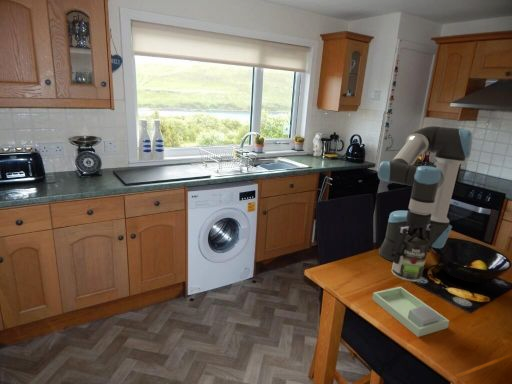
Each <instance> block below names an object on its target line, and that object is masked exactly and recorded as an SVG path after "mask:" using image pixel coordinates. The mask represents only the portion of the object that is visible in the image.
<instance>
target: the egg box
mask: <svg viewBox="0 0 512 384" xmlns="http://www.w3.org/2000/svg"><path fill="white" fill-rule="evenodd" d="M429 307H430V306H429ZM429 307H427V306H423V307H419V308H415V309H412V310H409V314H408V319H409V320H411V321H412V322H413V323H414V324H416V325H417V326H418V327H419V328H420V327H423V326H426V325H430V324H433V323H437V322H439V320H440V315H438V314H437V313H436V312H437V311H436V312H434V311H433V310H434V309H433V310H431V309H430V308H429Z"/></svg>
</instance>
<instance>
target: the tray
mask: <svg viewBox="0 0 512 384" xmlns="http://www.w3.org/2000/svg"><path fill="white" fill-rule="evenodd" d="M371 300H372V301H373V302H375V303H376V304H377V305H378V306H380V307H381V308H382V309H383V310H384V311H385V312H387V313H388V314H389V315H391V317H393V318H394V319H395V320H396V321H398V322H399V323H400V324H401V325H402V326H404V327H405V328H406V329H408V330H409V332H411V333H412V334H413V335H415V336H416V338H419V337H423V336H425V335H426V336H427V335H429V334H432V333H435V332H439V331H442V330H445V329H448V327H449V323H450V320H449V319H448V318H446V317H445V316H444V315H442V314H441V313H439V312H438V311H436V310H435V309H433V308H432V307H431V306H430V305H427V304H426V303H425V302H423V301H422V300H421V299H419V298H418V297H416V296H415V295H413V294H412V293H410V292H409V291H408V290H406V289H405V288H403V286H397V287H391V288H387V289H384V290H379V291H374V292H373V293H372V298H371ZM423 306H427V307H429V308H430V309H431V310H433V311H434V312H436V313H437V314H438V315H440V320H439V322H437V323H433V324H430V325H426V326H423V327H420V328H419V327H418V326H417V325H416V324H414V323H413V322H412V321H411V320H409V319H408V314H409V310H412V309H415V308H419V307H423Z"/></svg>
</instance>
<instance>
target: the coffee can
mask: <svg viewBox="0 0 512 384" xmlns="http://www.w3.org/2000/svg"><path fill="white" fill-rule="evenodd" d="M408 236H409V235H408ZM410 237H411V236H410ZM403 244H406V246H405V251H404V252H403V254H402V256H403V260H402V265H401V270H400V273H398V272H396V271H395V270H393V265H394V262H393V261H392V268H391V273H392V274H393V275H394V276H395V277H397V278H398V279H400V280H403V281H405V282H406V281H407V282H419V281H421V280H422V276H423V272H424V267H425V264H426V259H427V255H428V252H427V251H428V250H429V249H428V247H429V245H430V242H429V240H427V239H426V238H425V240H422V239H420V238H418V237H415V238H414V239H413V240H411V241H410V242H407V241H405V240H404V242H403ZM399 252H400V251H399Z"/></svg>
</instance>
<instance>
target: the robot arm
mask: <svg viewBox="0 0 512 384" xmlns="http://www.w3.org/2000/svg"><path fill="white" fill-rule="evenodd" d="M472 142H473V133H472V131H470V130H469V129H464V128H457V127H456V128H455V127H446V126H445V127H444V126H435V125H433V126H432V125H431V126H426V127H422V128H419V129H417V130H415V131H413V132H412V133H410V134H409V136H407V138H406V139H405V142H404V143H405V144H404V145H403V147H402V148H401V149H400V150H399V152H398V153H397V154H396V155H395V157H393V158H392V160H391V161H389V160H382V161H381V162H380V164H379V166H378V170H377V177H378V179H379V180H380V181H384V182H388V183H395V184H398V185H399V184H400V185H404V186H409V187H412V188H411V193H410V200H409V204H408V210H395V211H392V212H390V213H389V215H388V216H389V218H388V221H387V226H386V232H385V237H384V240H383V241H382V243H381V245H380V246H379V248H378V249H379V250H378V254H379V255H380V257H382V258H383V259H385V260H386V261H387V260H388V261H390V262H392V263H393V262H394V265H393V264H392V267H393V270H395V271H396V272H398V273H400V270H401V265H402V260H403V256H402V254H403V252H404V251H405V246H406V244H403V242H404V240H405V241H407V242H410V241H411V240H413V239H414V238H415V237H418V238H420V239H422V240H425V238H426V239H427V240H429V242H430V245H429V247H428V251H427V254H428V253H430V251H431V250H432V249H433V248H435V249H442V248H444V246H445V245H446V242H447V240H448V237H449V235H450V234H451V233H450V232H451V231H452V228H453V226H452V225H451V224H450V219H449V218H448V213H449V208H450V205H451V200H452V196H453V193H454V189H455V184H456V180H457V177H458V171H459V169H460V165H462V164H463V163H464V162H465V160H466V159H469V158H470V156H471V151H472V144H473V143H472ZM425 152H426V153H433V154H435V156H434V159H436V161H437V163H436V167H434V166H429V165H420V166H417V165H414V164H415V163H416V162H417V160H418V159H419V157H420V155H421V154H424V153H425ZM408 235H409V236H408ZM410 236H411V237H410ZM399 251H400V252H399Z"/></svg>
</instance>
